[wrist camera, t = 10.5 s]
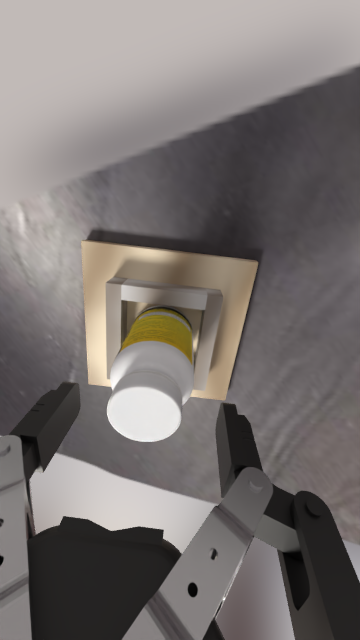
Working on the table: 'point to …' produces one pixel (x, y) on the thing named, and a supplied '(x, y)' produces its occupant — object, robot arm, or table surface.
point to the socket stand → (171, 290)
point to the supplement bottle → (152, 375)
